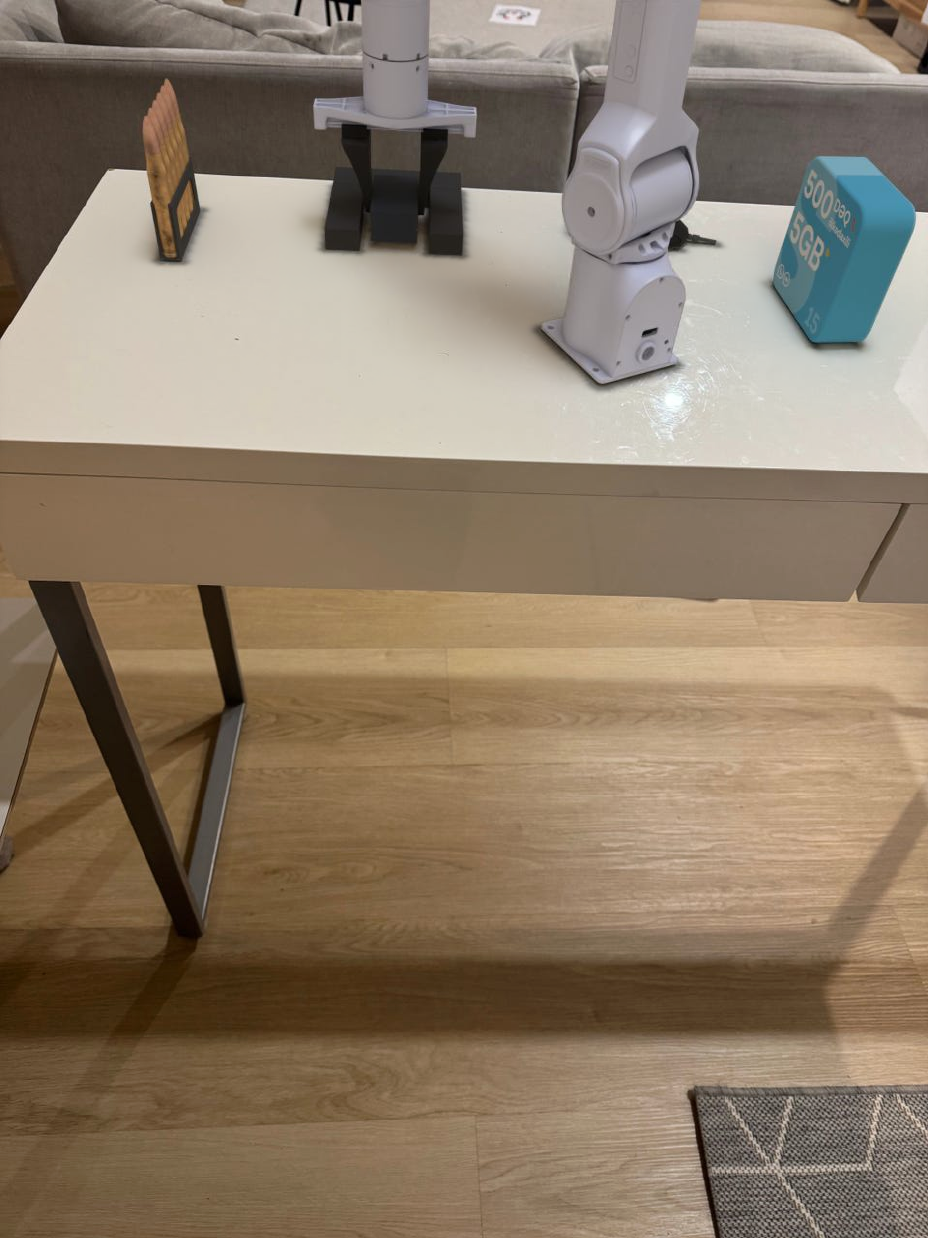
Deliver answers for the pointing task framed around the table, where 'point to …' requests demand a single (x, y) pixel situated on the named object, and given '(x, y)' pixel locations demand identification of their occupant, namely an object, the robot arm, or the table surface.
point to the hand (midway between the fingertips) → (395, 209)
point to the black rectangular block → (394, 209)
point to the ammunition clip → (170, 176)
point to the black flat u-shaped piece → (441, 201)
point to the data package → (842, 248)
